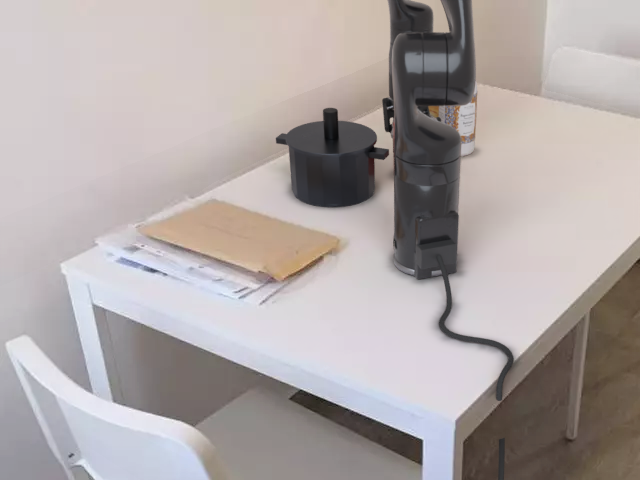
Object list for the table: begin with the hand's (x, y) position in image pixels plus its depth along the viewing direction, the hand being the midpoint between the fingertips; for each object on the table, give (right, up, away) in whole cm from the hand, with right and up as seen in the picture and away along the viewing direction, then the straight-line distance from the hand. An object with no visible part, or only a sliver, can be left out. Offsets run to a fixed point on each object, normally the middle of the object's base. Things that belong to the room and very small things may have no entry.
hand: (410, 164), depth 155 cm
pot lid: (-13, +2, -10) cm, 16 cm away
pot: (-13, -5, -5) cm, 15 cm away
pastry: (+4, +12, +23) cm, 26 cm away
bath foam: (+8, +5, +12) cm, 15 cm away
